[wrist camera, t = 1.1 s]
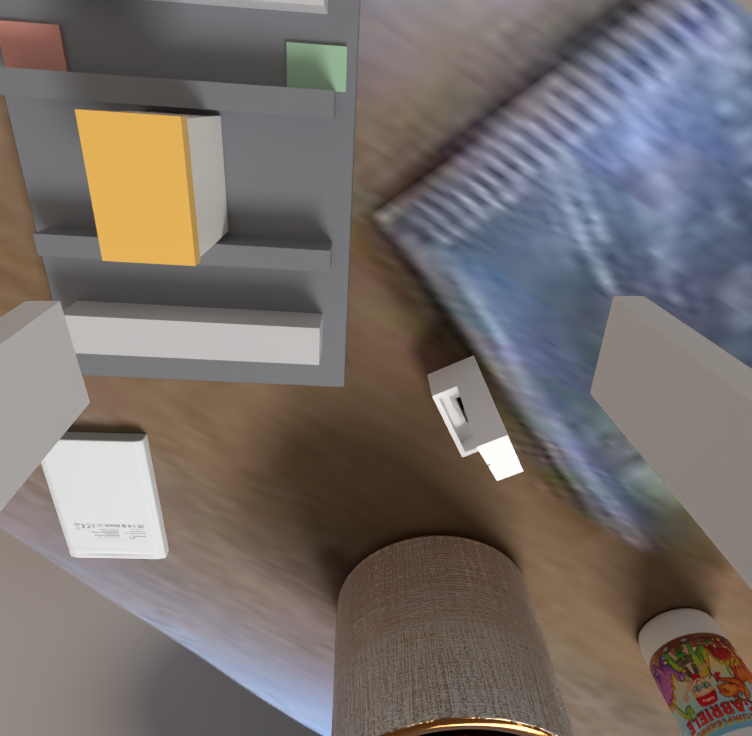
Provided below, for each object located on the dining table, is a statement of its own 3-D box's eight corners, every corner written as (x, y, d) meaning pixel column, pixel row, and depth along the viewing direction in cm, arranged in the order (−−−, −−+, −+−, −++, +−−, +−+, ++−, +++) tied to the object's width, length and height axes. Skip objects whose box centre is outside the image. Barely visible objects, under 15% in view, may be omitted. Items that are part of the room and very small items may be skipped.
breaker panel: (364, -101, 25) (363, -148, 21) (345, 366, 37) (342, 405, 32) (-11, -134, 25) (-102, -191, 20) (91, 354, 36) (50, 392, 32)
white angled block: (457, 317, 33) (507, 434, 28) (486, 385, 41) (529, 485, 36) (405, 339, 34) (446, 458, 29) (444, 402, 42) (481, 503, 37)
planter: (304, 619, 50) (280, 819, 36) (403, 496, 43) (421, 685, 29) (453, 675, 54) (483, 872, 40) (564, 572, 47) (647, 767, 34)
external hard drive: (149, 429, 40) (171, 546, 46) (42, 426, 40) (77, 544, 46) (141, 441, 39) (164, 560, 44) (30, 438, 38) (68, 559, 44)
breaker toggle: (222, 113, 27) (180, 116, 21) (230, 233, 30) (195, 265, 24) (140, 108, 27) (74, 109, 21) (156, 228, 30) (102, 260, 23)
